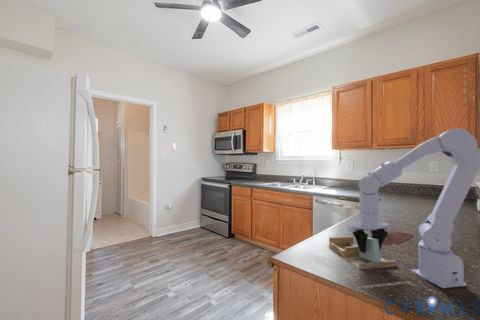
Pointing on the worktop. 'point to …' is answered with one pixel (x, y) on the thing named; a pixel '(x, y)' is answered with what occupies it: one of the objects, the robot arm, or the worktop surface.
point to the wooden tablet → (395, 238)
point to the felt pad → (362, 260)
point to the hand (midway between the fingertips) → (369, 251)
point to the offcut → (352, 244)
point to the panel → (371, 250)
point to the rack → (355, 253)
